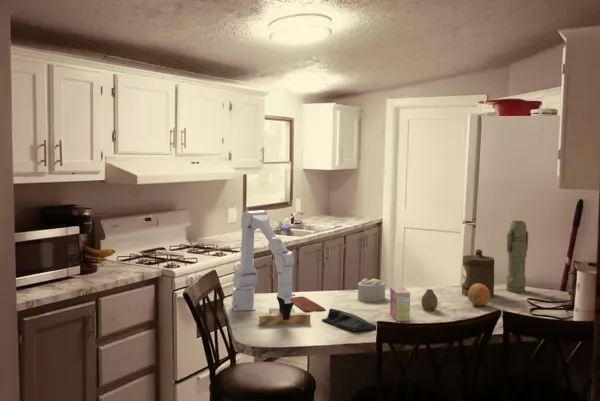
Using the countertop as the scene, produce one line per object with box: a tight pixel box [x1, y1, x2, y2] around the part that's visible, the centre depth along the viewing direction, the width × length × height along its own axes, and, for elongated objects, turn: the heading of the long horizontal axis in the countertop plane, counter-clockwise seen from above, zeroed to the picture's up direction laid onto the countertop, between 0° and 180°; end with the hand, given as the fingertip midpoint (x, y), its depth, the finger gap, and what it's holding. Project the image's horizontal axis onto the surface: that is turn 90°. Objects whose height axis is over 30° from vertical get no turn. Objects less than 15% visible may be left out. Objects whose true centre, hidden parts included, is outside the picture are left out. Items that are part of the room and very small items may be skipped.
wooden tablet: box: [290, 295, 326, 313], centre depth 248 cm, size 27×10×2 cm, turn 20°
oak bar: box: [258, 312, 311, 327], centre depth 219 cm, size 20×3×4 cm, turn 99°
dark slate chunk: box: [321, 308, 377, 332], centre depth 219 cm, size 15×22×5 cm
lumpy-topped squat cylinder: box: [357, 278, 386, 302], centre depth 260 cm, size 10×13×9 cm
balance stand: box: [269, 307, 296, 314], centre depth 231 cm, size 10×14×5 cm
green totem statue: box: [505, 220, 529, 294], centre depth 276 cm, size 9×12×35 cm
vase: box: [421, 288, 439, 312], centre depth 241 cm, size 7×7×9 cm
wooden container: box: [461, 249, 495, 298], centre depth 268 cm, size 15×15×22 cm
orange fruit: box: [467, 283, 491, 307], centre depth 248 cm, size 10×10×10 cm
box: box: [389, 286, 411, 322], centre depth 228 cm, size 10×6×12 cm, turn 5°
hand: (284, 317), depth 219 cm, fingers open, 7 cm apart
